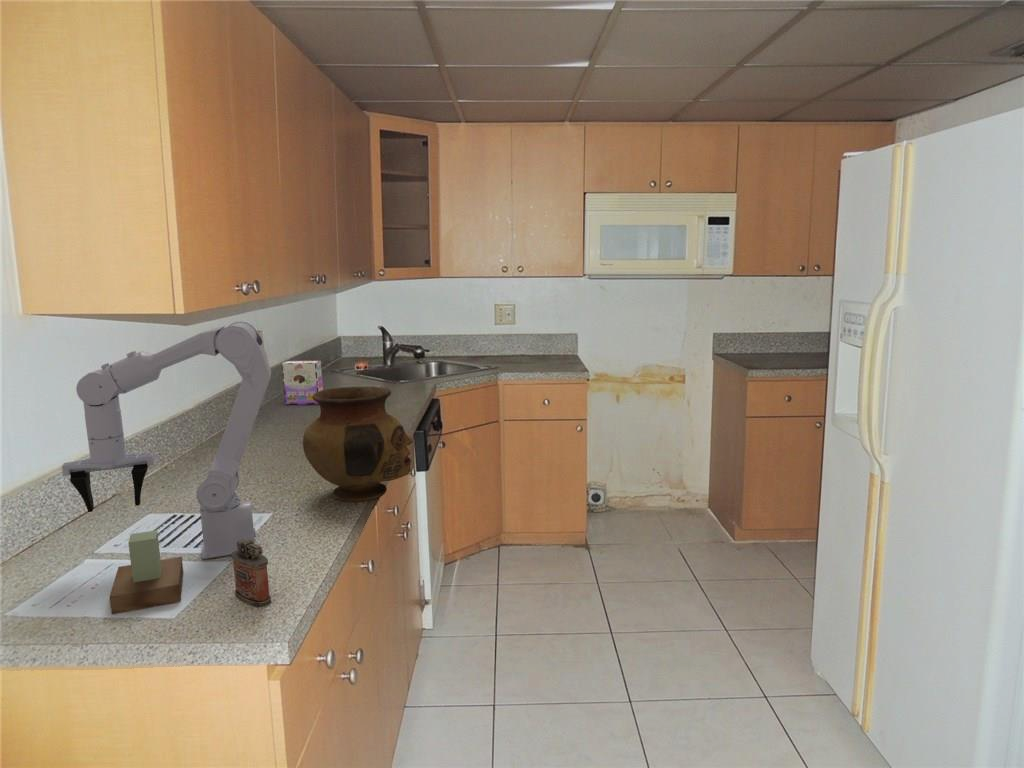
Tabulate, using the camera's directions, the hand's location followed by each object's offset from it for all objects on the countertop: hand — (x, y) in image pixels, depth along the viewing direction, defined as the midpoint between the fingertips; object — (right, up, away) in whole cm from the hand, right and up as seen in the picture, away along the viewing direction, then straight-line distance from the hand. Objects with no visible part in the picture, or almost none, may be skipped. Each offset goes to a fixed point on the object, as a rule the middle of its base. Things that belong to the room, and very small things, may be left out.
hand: (114, 507), depth 131 cm
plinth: (+12, -12, -11) cm, 21 cm away
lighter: (+31, -13, -14) cm, 36 cm away
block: (+12, -9, -12) cm, 19 cm away
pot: (+37, -3, +37) cm, 53 cm away
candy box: (-7, +15, +143) cm, 144 cm away
